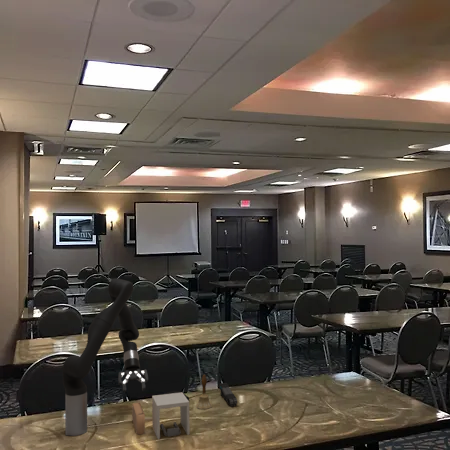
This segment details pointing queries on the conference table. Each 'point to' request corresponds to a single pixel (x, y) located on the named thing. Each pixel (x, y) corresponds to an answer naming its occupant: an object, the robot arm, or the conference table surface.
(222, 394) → the gun
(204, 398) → the hand bell
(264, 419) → the conference table surface
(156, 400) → the grey arch stand
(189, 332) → the conference table surface
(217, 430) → the conference table surface
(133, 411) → the rounded end wooden stick
